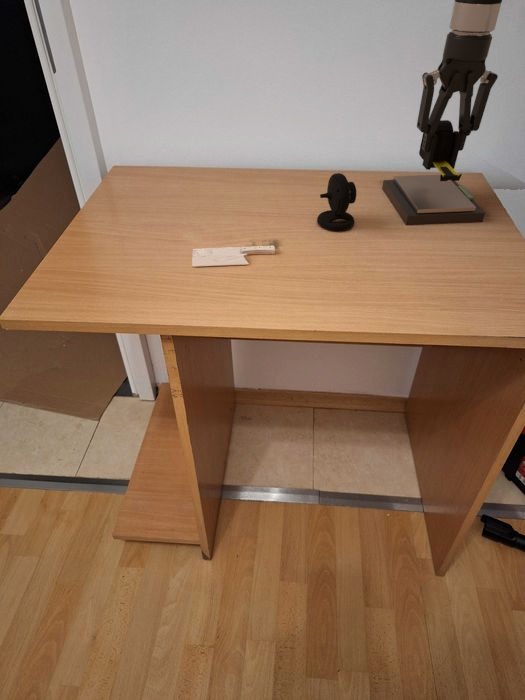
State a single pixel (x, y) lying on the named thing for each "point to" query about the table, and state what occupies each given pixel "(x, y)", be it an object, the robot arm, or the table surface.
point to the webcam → (338, 203)
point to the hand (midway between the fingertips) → (438, 166)
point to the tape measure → (443, 151)
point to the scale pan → (433, 194)
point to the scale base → (429, 218)
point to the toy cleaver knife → (227, 255)
